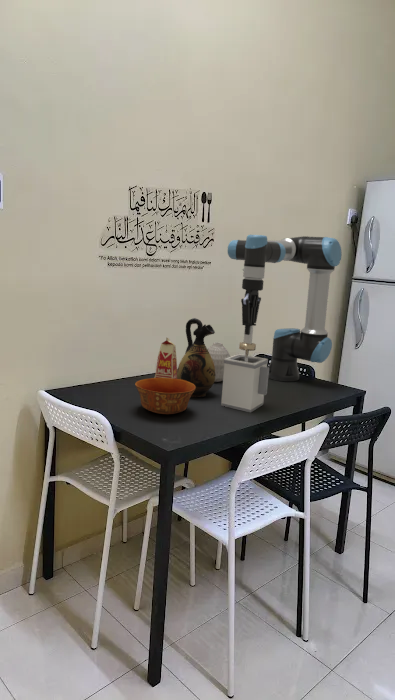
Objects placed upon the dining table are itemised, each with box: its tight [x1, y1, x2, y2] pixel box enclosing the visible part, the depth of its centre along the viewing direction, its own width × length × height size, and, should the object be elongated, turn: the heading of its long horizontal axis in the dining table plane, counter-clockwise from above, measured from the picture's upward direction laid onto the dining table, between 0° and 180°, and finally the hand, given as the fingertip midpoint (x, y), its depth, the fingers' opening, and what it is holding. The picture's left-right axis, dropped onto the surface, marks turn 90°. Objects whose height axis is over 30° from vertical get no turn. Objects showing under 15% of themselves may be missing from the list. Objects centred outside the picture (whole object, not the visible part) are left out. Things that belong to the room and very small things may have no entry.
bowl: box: [134, 377, 196, 415], centre depth 182 cm, size 21×21×10 cm
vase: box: [207, 341, 231, 383], centre depth 228 cm, size 13×13×17 cm
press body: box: [220, 353, 269, 413], centre depth 193 cm, size 12×15×18 cm
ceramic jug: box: [177, 317, 216, 398], centre depth 204 cm, size 17×15×30 cm
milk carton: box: [153, 337, 178, 379], centre depth 218 cm, size 9×9×20 cm
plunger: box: [238, 341, 257, 362], centre depth 193 cm, size 9×9×22 cm
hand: (247, 343), depth 191 cm, fingers closed
